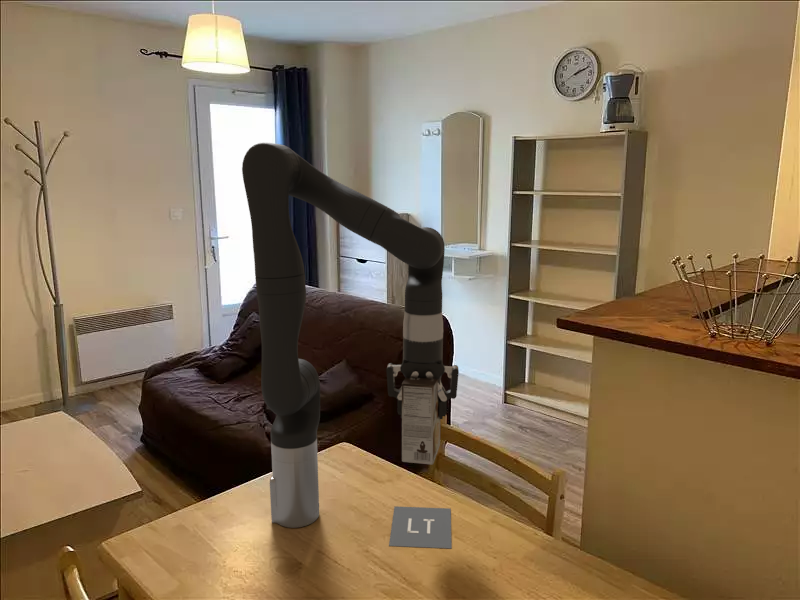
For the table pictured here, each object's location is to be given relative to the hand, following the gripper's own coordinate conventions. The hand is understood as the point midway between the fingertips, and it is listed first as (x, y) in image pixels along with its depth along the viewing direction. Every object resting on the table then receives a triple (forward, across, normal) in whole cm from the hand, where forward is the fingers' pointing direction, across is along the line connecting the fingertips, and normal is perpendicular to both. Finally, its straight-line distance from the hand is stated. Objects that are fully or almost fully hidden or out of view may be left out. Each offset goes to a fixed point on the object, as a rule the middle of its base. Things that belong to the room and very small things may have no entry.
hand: (421, 416), depth 119 cm
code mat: (+24, 0, 0) cm, 24 cm away
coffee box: (+8, 0, 0) cm, 8 cm away
